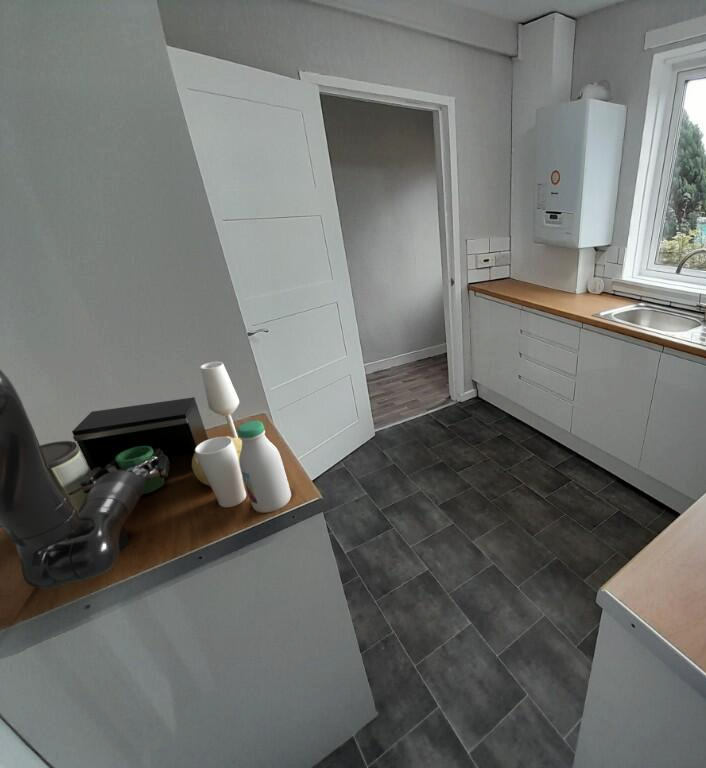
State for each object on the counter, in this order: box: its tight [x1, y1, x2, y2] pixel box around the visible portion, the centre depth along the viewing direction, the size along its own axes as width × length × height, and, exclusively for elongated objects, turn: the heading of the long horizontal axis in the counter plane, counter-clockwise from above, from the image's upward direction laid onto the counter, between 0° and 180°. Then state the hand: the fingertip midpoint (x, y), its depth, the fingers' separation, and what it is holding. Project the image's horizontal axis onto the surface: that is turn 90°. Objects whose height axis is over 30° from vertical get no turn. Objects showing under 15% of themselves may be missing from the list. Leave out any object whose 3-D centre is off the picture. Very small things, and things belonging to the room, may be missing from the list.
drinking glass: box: [195, 436, 247, 508], centre depth 89 cm, size 7×7×15 cm
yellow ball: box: [191, 435, 243, 487], centre depth 97 cm, size 11×12×11 cm
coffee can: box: [39, 440, 91, 511], centre depth 86 cm, size 10×10×14 cm
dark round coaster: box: [119, 529, 130, 553], centre depth 78 cm, size 8×8×1 cm
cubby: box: [71, 396, 209, 472], centre depth 99 cm, size 20×10×16 cm, turn 115°
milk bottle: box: [236, 420, 292, 514], centre depth 88 cm, size 8×8×20 cm
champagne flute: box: [199, 361, 240, 438], centre depth 107 cm, size 7×7×24 cm
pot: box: [115, 446, 165, 495], centre depth 92 cm, size 6×6×9 cm
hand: (140, 455), depth 93 cm, fingers closed on pot, 6 cm apart
